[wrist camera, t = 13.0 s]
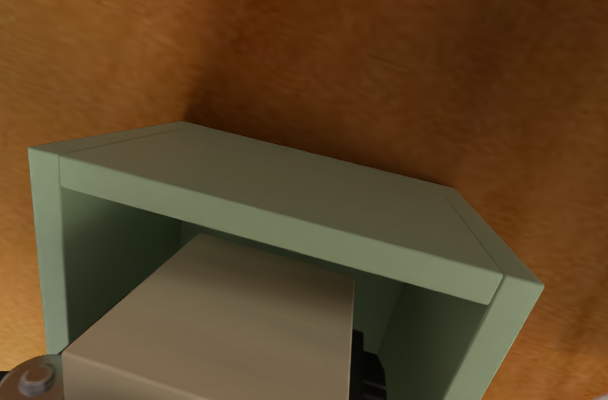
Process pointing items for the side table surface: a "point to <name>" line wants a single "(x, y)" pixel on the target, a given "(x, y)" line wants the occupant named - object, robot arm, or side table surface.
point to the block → (220, 331)
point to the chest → (282, 243)
